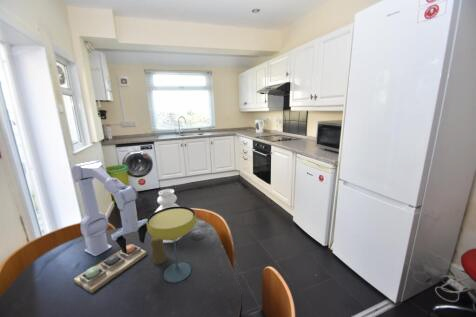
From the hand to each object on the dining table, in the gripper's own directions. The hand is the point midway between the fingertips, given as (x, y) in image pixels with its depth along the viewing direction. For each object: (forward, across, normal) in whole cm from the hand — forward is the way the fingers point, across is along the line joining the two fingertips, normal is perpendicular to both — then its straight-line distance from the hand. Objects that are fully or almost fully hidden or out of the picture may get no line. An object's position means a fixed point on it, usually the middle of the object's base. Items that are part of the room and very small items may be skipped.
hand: (133, 246), depth 87 cm
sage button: (+7, -13, +8) cm, 17 cm away
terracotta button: (+7, +3, +10) cm, 12 cm away
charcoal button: (+8, -5, +9) cm, 13 cm away
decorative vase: (+10, +23, +6) cm, 26 cm away
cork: (+10, +8, -4) cm, 14 cm away
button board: (+10, -5, +9) cm, 14 cm away
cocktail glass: (+10, +7, -17) cm, 21 cm away
